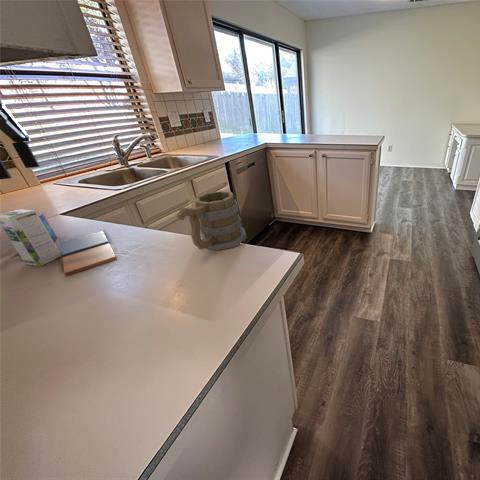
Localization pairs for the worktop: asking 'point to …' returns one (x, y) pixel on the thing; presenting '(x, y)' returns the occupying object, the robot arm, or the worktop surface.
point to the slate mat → (83, 243)
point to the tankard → (215, 221)
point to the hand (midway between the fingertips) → (19, 172)
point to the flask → (47, 226)
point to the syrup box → (29, 236)
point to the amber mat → (88, 259)
